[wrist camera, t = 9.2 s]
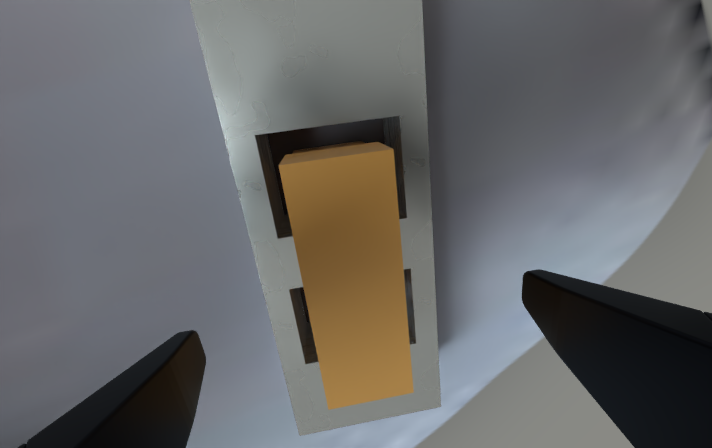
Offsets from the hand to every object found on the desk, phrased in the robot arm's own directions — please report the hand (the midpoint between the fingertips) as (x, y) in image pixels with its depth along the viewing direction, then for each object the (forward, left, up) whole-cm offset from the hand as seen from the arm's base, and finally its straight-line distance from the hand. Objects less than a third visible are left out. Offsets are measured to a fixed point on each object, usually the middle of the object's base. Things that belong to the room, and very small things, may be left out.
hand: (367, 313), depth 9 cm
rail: (0, 0, -7) cm, 7 cm away
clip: (0, 0, -7) cm, 7 cm away
